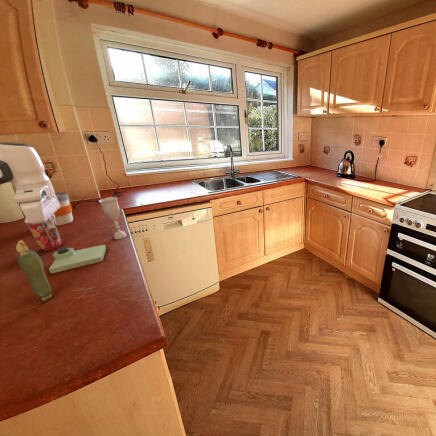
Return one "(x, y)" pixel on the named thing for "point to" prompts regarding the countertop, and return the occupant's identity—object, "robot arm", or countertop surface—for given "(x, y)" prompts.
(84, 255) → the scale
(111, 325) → the countertop surface
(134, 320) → the countertop surface
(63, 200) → the reusable coffee cup
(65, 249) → the tare button
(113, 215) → the chalice
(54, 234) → the smoothie
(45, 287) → the vegetable
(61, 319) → the countertop surface
